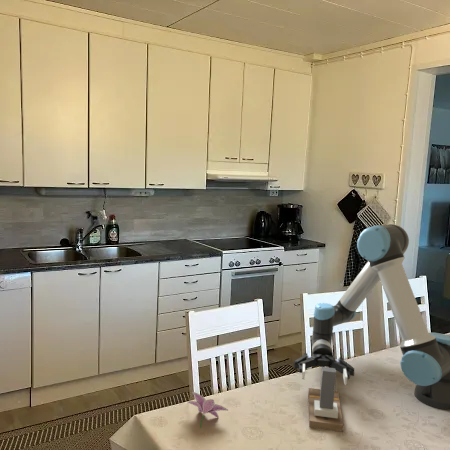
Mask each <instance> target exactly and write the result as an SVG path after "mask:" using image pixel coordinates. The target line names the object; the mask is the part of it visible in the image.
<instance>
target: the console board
mask: <svg viewBox="0 0 450 450" xmlns="http://www.w3.org/2000/svg"><path fill="white" fill-rule="evenodd" d="M320 389H321V388H315V387H313V388H312V387H308V391H307V393H308V396H307V397H308V399H307V400H308V402H307V403H308V427H309V428H313V429H314V428H315V429H320V430H328V431H335V432H343V431H344V420H343V415H342V409H341V403H340V402H341V401H340V397H339V391H337V390H334V403H337V408H338V419H337V418H330V417H322V416H315V415H314V400H318V401H320Z"/></svg>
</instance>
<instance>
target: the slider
mask: <svg viewBox="0 0 450 450" xmlns="http://www.w3.org/2000/svg"><path fill="white" fill-rule="evenodd" d="M321 368H322V369H321V379H320V388H319V389H320V401H318V400H314V415H315V416H322V417H330V418H337V419H338V408H337V403H334V391H336V390H335V388H336V377H337V371H336V369H335V368H329V367H321Z"/></svg>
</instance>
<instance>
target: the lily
mask: <svg viewBox="0 0 450 450" xmlns="http://www.w3.org/2000/svg"><path fill="white" fill-rule="evenodd" d="M192 395H193V396H194V399H195V401H194V400H189V401H187V404H190V405H193V406H195V407H197V409H198V412H199V413H202V416H201V419H200V427H199V428H200V429H201V428H202V424H203V419H204V415H205V414H211V415H212V416H214V417H215V418H217V419H219V413H218V411H219V412H221V411H225V412H226V411H229V409H228V408H226V407H225V406H222V405H221V404H216V403H215V399H212V398H210V399H206V398H205V397H204V396H203V395H201V394H200V393H198V392H195V391H192Z"/></svg>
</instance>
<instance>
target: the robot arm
mask: <svg viewBox="0 0 450 450" xmlns="http://www.w3.org/2000/svg"><path fill="white" fill-rule="evenodd" d="M356 243H357V244H356V247H357V250H358V254H359V255H360V256H361V257H362V258H363V259H365V260H366V261H367V262H366V263H365V265H364V266H363V267H362V269H361V271H360V272H359V273H358V274H357V275H356V277H355V278H354V280H353V281H352V282H351V284H350V285H349V286H348V288H347V289H346V291H345V292H344V293H343V294H342V296H341V297H340V298H339V300H338V301H337V303H336V304H335V305H333V304H330V303H325V302H322V303H321V302H320V303H317V304H316V305H315V307H314V313H313V322H312V323H313V324H312V325H313V326H312V335H311V336H312V337H311V349H312V350H311V351H312V352H311V355H309V354H308V353H306V352H304V353H303V355H302V356H300V357H298V358H297V359H295V360H294V362H293V369H294V370H297V369H298V374H299V373H300V374H301V380H305V378H306V377H305V374H306V369H309V368H312V367H313V368H317V367H321V368H322V367H328V368H335V369H336V372H338V373H340V374H342V378H343V384H344V386H347V384H348V380H349V379H350V378H351V377H353V376H355V367H354V366H352V365H350V364H349V363H348V362H347V361H346V360H344V358H343V357H339V358H338V359H336V358H335V357H334V352H333V346H332V345H333V331H334V327H335V326H339V325H341V324H345V323H348V322H350V321H352V320H354V318H355V317H356V314H357V310H358V309H359V307H360V306H361V304H362V303H363V302H364V300H365V299H366V298H367V297H368V296H369V294H370V293H371V292H372V291H373V289H374V288H375V287H376V285H377V284H379V281H380V283H381V286H382V289H383V291H384V294H385V296H386V299H387V302H388V305H389V308H390V310H391V312H392V315H393V318H394V320H395V324H396V326H397V329H398V332H399V334H400V337H401V343H400V345H399V348H400V352H401V353H402V356H401V360H400V369H401V371H402V373H403V375H404V377H405V378H406V379H408V380H409V382H411V383H413V384H415V387H414V396H415V398H416V399H417V400H418V401H419V402H421V403H423V404H425V405H427V406H430V407H432V408H436V409H441V410H450V334H449V335H448V334H445V333H439V332H429V331H428V328H427V325H426V322H425V320H424V317H423V315H422V313H421V310H420V307H419V305H418V302H417V299H416V296H415V294H414V292H413V289H412V286H411V284H410V281H409V278H408V276H407V273H406V271H405V268H404V266H403V262H404V259H405V252H406V251H407V250H408V247H409V244H410V239H409V235H408V233H407V231H406V229H404V228H403V227H401V226H400V225H397V224H380V225H379V224H377V225H372V226H369V227H367V228H365V229H363V230H362V232H360V234H359V237H358V239H357V241H356Z"/></svg>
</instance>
